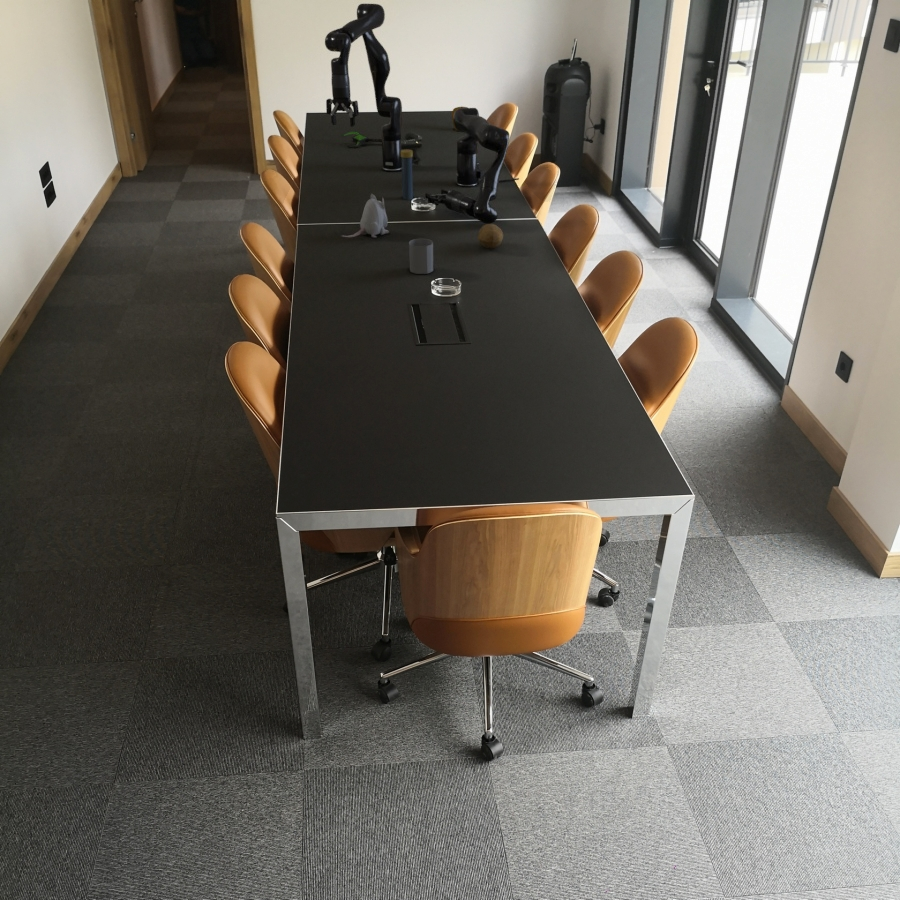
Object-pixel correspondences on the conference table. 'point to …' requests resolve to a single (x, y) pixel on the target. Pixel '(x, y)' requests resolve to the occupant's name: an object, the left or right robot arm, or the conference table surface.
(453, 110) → the apple
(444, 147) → the conference table surface
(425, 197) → the right robot arm
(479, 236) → the potato
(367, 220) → the toy
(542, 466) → the conference table surface
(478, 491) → the conference table surface
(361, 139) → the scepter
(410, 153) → the lid
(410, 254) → the cup
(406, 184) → the dark blue cylinder
